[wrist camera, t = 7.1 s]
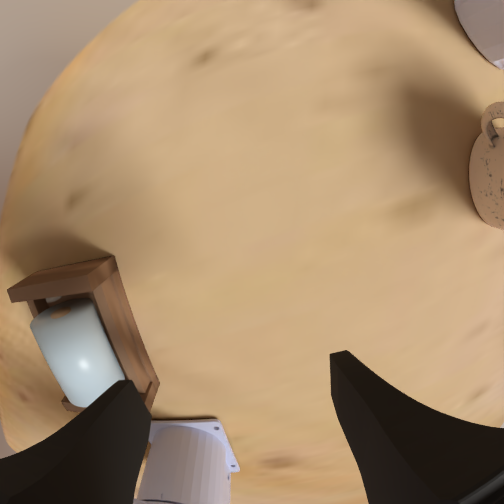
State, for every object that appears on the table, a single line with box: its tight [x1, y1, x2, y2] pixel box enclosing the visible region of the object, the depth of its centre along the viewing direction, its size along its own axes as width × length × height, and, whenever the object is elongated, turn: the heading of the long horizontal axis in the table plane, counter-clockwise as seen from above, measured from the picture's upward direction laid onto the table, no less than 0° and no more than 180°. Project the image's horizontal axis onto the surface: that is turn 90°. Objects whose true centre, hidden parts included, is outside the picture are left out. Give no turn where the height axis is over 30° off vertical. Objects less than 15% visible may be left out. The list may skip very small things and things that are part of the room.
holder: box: [7, 256, 160, 412], centre depth 18 cm, size 11×8×4 cm
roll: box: [30, 298, 125, 407], centre depth 16 cm, size 6×5×5 cm
